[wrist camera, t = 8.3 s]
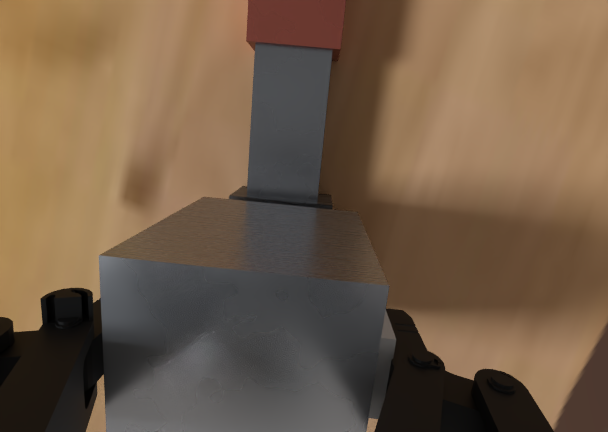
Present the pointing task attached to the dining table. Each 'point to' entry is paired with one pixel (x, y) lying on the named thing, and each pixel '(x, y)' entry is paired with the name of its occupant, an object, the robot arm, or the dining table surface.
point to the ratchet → (290, 98)
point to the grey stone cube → (242, 321)
